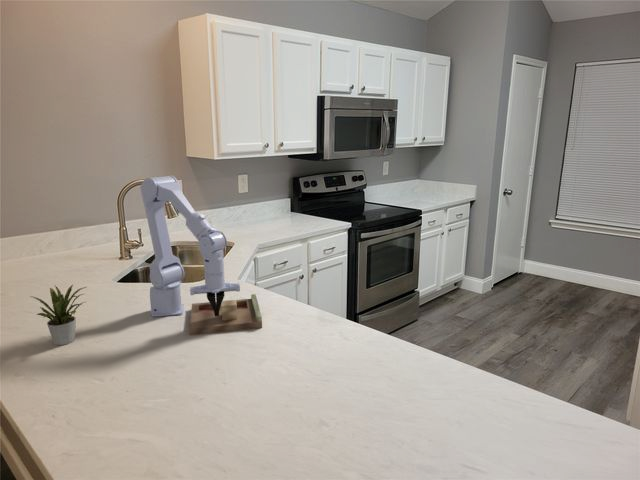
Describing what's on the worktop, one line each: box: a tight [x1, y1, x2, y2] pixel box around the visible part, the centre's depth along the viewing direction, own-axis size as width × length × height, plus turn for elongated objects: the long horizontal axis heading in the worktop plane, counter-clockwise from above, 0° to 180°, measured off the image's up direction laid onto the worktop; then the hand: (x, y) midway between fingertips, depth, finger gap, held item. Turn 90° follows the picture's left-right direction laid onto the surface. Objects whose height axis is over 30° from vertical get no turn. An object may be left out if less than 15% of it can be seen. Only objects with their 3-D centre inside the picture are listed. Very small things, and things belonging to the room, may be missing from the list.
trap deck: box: [188, 293, 263, 336], centre depth 143 cm, size 21×20×4 cm
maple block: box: [221, 299, 237, 320], centre depth 139 cm, size 4×4×4 cm
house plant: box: [29, 284, 87, 346], centre depth 127 cm, size 14×14×16 cm
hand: (216, 314), depth 139 cm, fingers closed
